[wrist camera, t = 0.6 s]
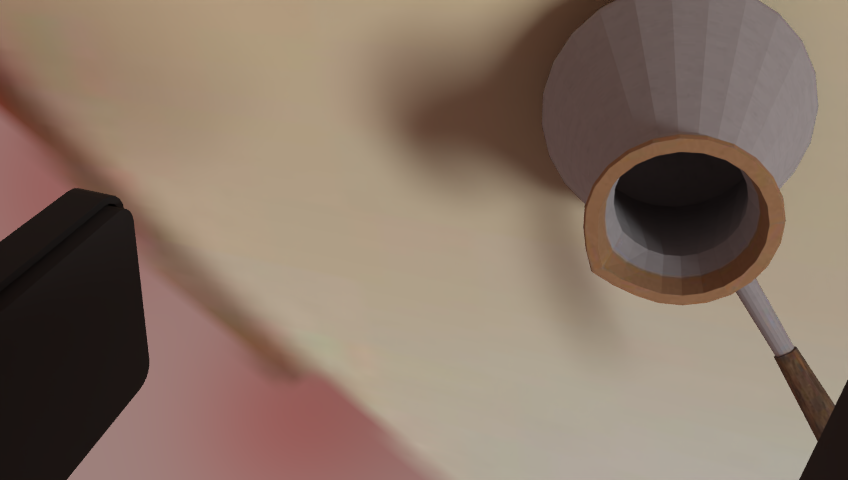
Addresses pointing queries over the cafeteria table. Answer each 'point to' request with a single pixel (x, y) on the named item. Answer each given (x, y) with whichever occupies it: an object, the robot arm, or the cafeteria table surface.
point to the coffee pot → (687, 153)
